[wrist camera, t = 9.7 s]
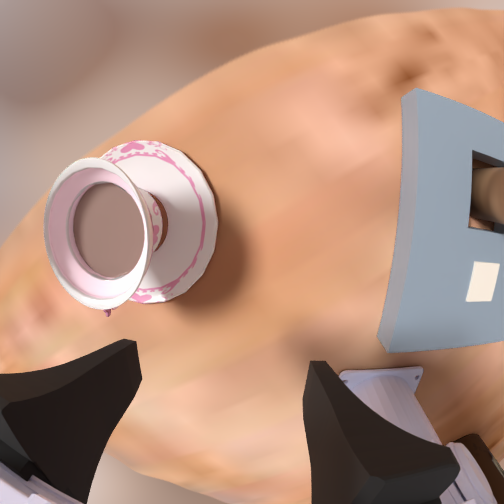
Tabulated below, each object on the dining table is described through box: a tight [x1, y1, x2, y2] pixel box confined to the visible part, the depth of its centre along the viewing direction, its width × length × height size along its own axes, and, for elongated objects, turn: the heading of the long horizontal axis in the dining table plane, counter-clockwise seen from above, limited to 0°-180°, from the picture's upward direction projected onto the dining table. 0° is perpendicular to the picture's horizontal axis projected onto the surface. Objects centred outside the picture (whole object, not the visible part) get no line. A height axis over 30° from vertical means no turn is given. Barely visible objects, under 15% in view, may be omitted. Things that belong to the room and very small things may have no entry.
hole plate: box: [377, 88, 504, 353], centre depth 16 cm, size 18×15×3 cm
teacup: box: [44, 140, 218, 317], centre depth 16 cm, size 12×12×6 cm
